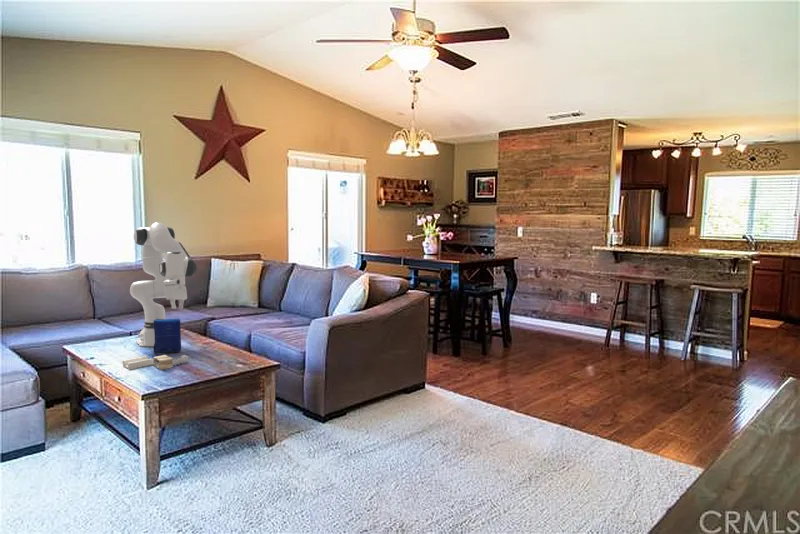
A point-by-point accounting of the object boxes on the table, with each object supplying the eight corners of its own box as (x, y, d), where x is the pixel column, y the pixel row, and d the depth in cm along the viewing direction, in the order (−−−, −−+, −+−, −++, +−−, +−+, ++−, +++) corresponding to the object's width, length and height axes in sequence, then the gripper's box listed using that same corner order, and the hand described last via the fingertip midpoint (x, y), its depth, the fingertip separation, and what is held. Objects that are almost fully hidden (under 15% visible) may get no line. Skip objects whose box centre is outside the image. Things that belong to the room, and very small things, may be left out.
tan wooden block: (153, 366, 274) (153, 357, 274) (165, 363, 279) (164, 354, 278) (160, 369, 269) (160, 360, 268) (172, 367, 273) (172, 358, 272)
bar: (156, 368, 272) (155, 361, 272) (184, 361, 285) (184, 355, 284) (159, 369, 270) (159, 362, 270) (188, 362, 283) (188, 356, 282)
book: (153, 355, 295) (151, 320, 293) (154, 352, 300) (153, 318, 298) (180, 353, 299) (179, 319, 296) (181, 351, 304) (180, 317, 301)
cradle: (122, 366, 274) (122, 360, 274) (146, 361, 283) (146, 355, 283) (128, 369, 269) (128, 363, 268) (152, 364, 278) (152, 358, 277)
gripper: (177, 283, 283) (179, 308, 282) (161, 281, 262) (163, 309, 262) (189, 282, 283) (190, 307, 282) (174, 280, 263) (176, 308, 262)
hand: (177, 308), depth 272 cm, fingers open, 8 cm apart
